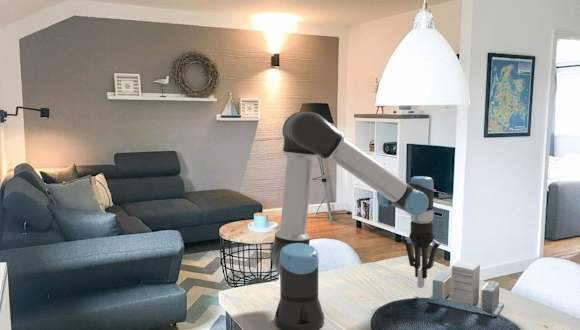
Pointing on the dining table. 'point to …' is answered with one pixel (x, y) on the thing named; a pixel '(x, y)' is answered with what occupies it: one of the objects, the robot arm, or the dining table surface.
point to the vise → (488, 298)
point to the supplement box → (465, 283)
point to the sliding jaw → (441, 286)
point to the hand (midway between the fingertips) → (420, 286)
